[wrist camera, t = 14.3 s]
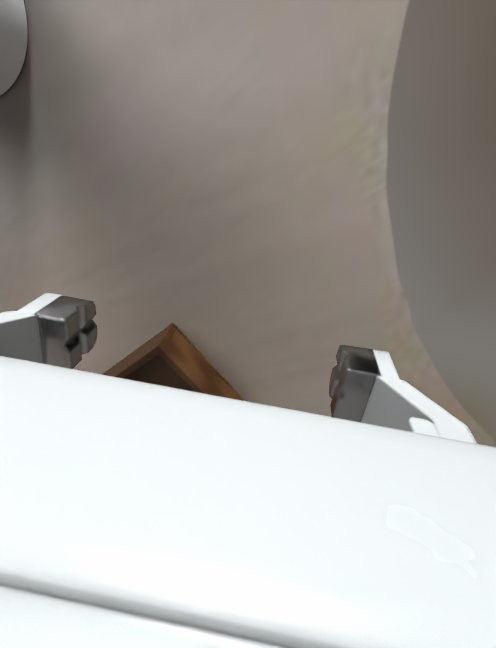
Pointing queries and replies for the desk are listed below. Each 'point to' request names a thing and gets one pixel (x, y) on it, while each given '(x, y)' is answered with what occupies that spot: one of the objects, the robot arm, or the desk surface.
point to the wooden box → (173, 366)
